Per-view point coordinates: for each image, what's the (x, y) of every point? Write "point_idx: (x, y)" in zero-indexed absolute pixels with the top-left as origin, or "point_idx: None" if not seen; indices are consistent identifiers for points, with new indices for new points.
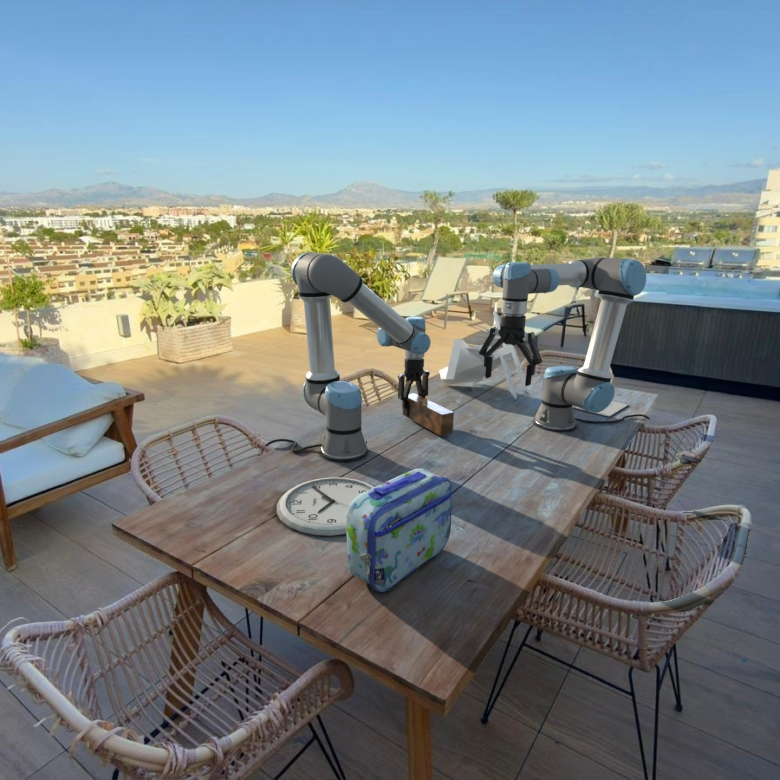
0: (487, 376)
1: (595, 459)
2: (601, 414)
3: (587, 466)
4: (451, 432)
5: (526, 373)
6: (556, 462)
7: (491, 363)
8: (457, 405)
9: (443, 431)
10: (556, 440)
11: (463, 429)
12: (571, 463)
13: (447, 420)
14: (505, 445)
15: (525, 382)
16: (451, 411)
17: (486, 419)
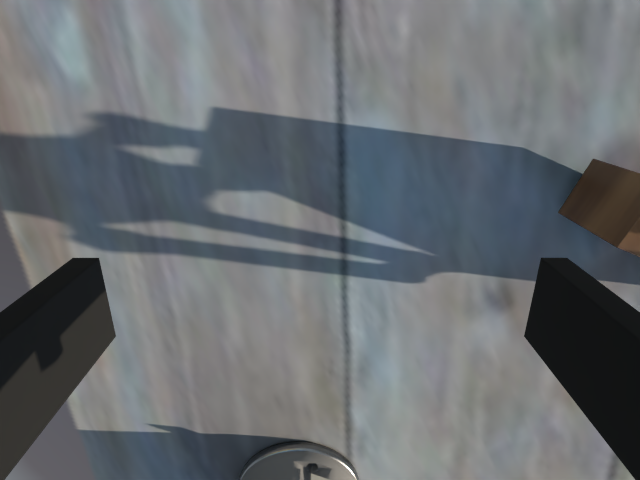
0: (551, 266)
1: None
2: None
3: None
4: (564, 208)
5: (1, 337)
6: (158, 237)
7: (624, 439)
8: None
9: (596, 173)
10: (240, 387)
11: None
12: (120, 259)
13: (616, 203)
14: (354, 259)
15: (80, 274)
16: (631, 249)
17: (496, 411)
